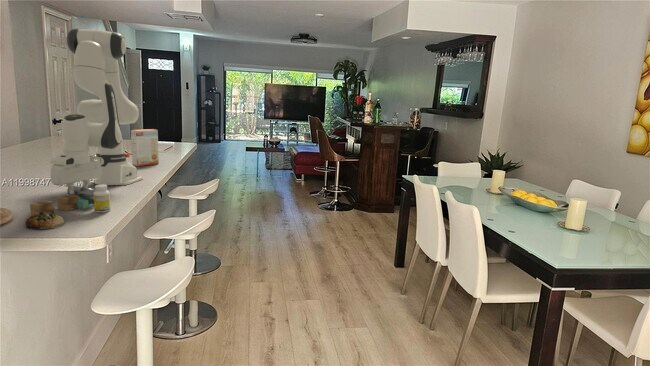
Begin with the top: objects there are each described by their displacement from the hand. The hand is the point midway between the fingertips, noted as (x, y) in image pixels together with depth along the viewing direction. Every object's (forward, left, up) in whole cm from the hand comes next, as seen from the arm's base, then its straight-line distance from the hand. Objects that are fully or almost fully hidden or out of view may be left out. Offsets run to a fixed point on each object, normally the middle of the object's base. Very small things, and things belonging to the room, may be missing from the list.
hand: (78, 192), depth 165 cm
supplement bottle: (+3, +14, -5) cm, 16 cm away
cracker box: (-80, -38, -5) cm, 89 cm away
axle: (0, +2, -2) cm, 3 cm away
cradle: (0, +2, -5) cm, 5 cm away
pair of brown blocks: (+12, +2, -5) cm, 13 cm away
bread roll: (+24, +12, -5) cm, 27 cm away
